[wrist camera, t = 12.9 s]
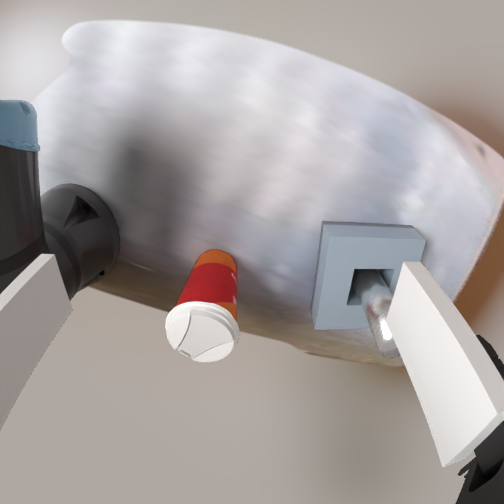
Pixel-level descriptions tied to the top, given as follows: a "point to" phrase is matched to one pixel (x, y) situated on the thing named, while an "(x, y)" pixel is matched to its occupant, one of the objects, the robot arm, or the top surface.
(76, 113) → the top surface
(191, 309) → the paper cup
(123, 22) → the top surface
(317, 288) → the socket block
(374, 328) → the pin
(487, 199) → the top surface
